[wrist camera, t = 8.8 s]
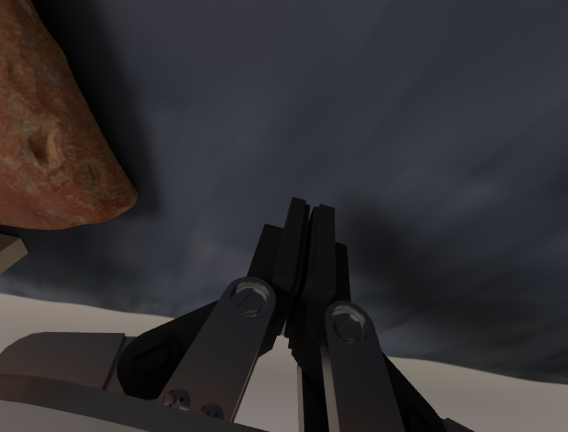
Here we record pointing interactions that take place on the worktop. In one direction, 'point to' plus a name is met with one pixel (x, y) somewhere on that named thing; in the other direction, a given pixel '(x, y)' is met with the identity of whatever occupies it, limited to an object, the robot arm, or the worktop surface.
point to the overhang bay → (10, 251)
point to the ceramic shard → (50, 135)
